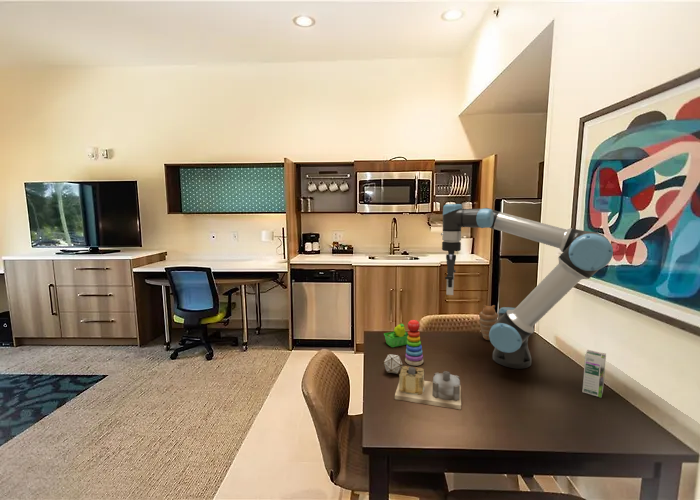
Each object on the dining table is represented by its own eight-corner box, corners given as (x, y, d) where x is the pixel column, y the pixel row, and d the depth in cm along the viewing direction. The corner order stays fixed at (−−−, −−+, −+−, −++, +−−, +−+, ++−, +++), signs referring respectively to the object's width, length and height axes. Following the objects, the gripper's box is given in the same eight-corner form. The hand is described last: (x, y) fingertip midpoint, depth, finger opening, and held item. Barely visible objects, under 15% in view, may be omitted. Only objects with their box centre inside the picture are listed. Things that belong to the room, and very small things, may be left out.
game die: (396, 380, 140) (410, 360, 140) (392, 382, 132) (407, 361, 132) (379, 365, 143) (393, 346, 143) (374, 367, 135) (389, 346, 136)
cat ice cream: (496, 338, 173) (498, 303, 171) (497, 343, 166) (499, 307, 163) (478, 335, 176) (479, 301, 174) (478, 341, 169) (479, 306, 167)
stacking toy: (422, 358, 151) (423, 317, 149) (424, 366, 143) (425, 323, 141) (404, 357, 152) (404, 317, 149) (405, 366, 144) (405, 323, 142)
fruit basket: (402, 339, 173) (402, 317, 171) (412, 345, 165) (413, 323, 163) (383, 343, 168) (383, 321, 167) (392, 350, 160) (392, 326, 159)
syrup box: (581, 392, 122) (584, 353, 120) (584, 386, 127) (587, 348, 125) (601, 398, 119) (605, 358, 117) (603, 391, 123) (606, 352, 121)
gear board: (460, 389, 125) (461, 366, 124) (460, 409, 113) (461, 384, 112) (400, 381, 132) (400, 358, 131) (394, 399, 120) (394, 374, 118)
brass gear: (402, 380, 129) (402, 365, 128) (424, 383, 127) (424, 368, 126) (398, 391, 121) (398, 375, 121) (422, 395, 119) (422, 378, 118)
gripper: (443, 238, 156) (442, 283, 159) (440, 244, 133) (439, 297, 135) (460, 238, 154) (459, 284, 157) (461, 244, 130) (459, 298, 133)
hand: (450, 290), depth 146 cm, fingers open, 13 cm apart
